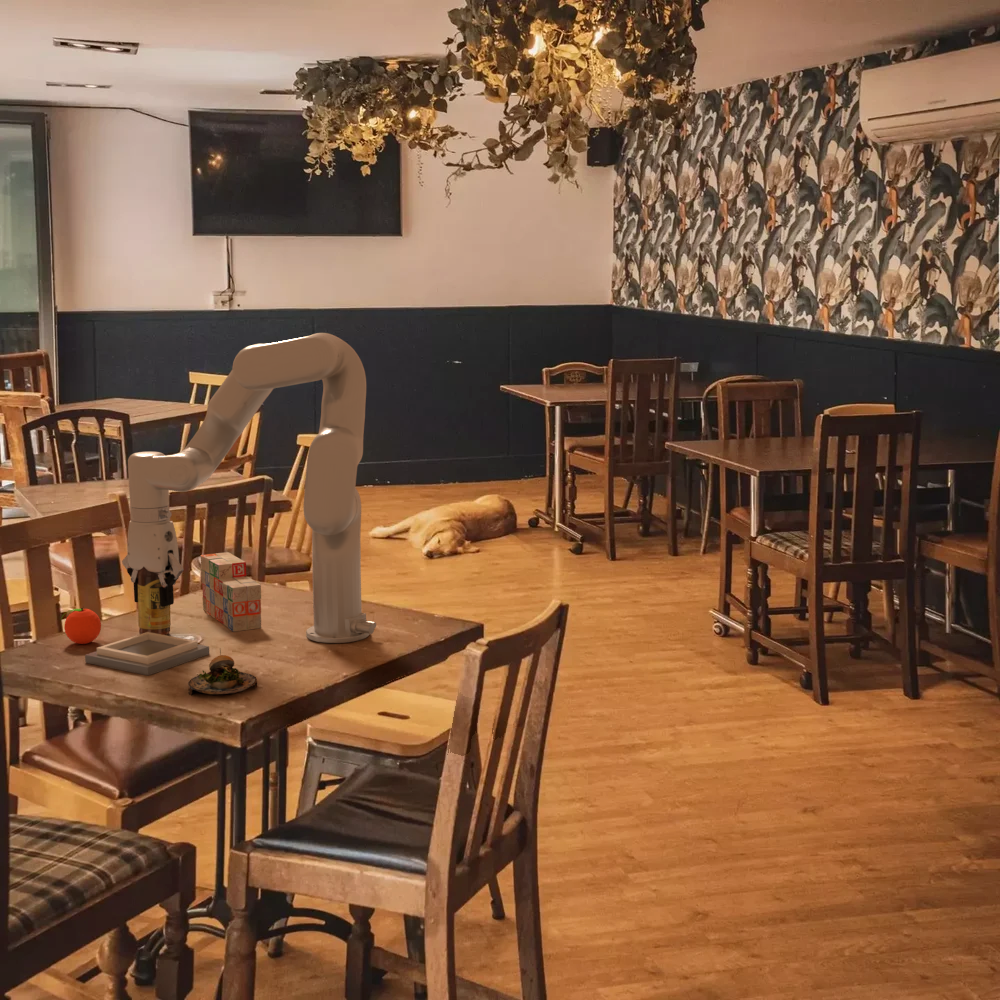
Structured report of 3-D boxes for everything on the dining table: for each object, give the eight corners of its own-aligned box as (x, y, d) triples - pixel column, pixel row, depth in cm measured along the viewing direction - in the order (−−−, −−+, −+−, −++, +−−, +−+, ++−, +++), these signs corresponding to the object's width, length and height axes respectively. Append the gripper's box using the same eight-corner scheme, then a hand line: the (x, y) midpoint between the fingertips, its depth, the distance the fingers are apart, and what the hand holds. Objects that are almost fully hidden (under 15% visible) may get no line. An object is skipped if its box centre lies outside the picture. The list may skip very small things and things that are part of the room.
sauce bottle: (154, 640, 268) (150, 541, 265) (132, 636, 271) (127, 538, 268) (178, 633, 274) (174, 536, 270) (156, 628, 277) (152, 533, 274)
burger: (179, 700, 232) (178, 658, 231) (198, 679, 244) (196, 639, 242) (249, 701, 231) (248, 659, 230) (264, 680, 243) (263, 640, 242)
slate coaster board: (209, 654, 259) (208, 640, 258) (147, 675, 245) (147, 661, 245) (148, 642, 267) (147, 629, 266) (85, 662, 253) (84, 648, 253)
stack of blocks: (262, 628, 277) (260, 569, 275) (232, 632, 274) (230, 573, 272) (230, 606, 296) (228, 550, 294) (202, 609, 293) (200, 553, 291)
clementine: (53, 647, 264) (51, 611, 262) (69, 637, 270) (67, 603, 269) (93, 648, 263) (91, 613, 261) (107, 639, 269) (106, 604, 268)
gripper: (196, 515, 267) (199, 604, 270) (132, 507, 276) (136, 594, 279) (168, 521, 261) (172, 612, 264) (104, 513, 270) (108, 601, 273)
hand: (154, 602), depth 271 cm, fingers closed on sauce bottle, 6 cm apart
